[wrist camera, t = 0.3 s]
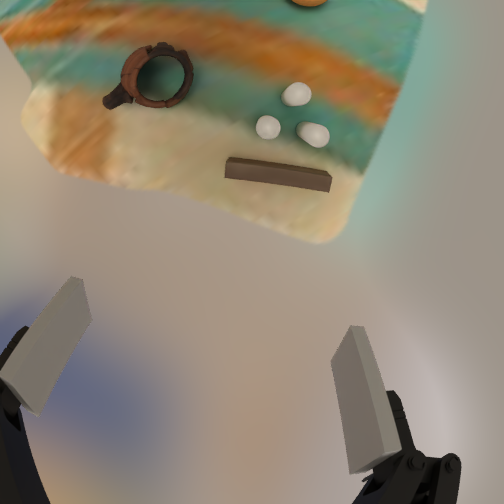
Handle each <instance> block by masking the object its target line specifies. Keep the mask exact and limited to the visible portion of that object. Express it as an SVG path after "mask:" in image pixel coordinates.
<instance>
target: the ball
mask: <svg viewBox="0 0 504 504" xmlns="http://www.w3.org/2000/svg"><path fill="white" fill-rule="evenodd" d="M292 1H293V2H295V3H297V4H299V5H303V6H317V5H320V4H322V3H324V2H326V1H327V0H292Z"/></svg>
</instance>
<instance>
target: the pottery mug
mask: <svg viewBox="0 0 504 504" xmlns="http://www.w3.org/2000/svg"><path fill="white" fill-rule="evenodd" d="M151 48H152V46H151V45H149V46H146V47H141V48H139V49H138V50H136V51H134V52H133V53H132V54H131V55H130V56H129V57H128V59H127V60H126V62H125V64H124V66H123V69H122V72H121V82H120V83H119V85H118V86H117V87H116V88H115V89H114V90H113V91H112V92H111V93H110V94H108V95H107V96H105V97H103V105H104V106H105V107H106V108H107V109H110V110H111V109H114V108H116V107H118V106H120V105H121V104H123V103H132V102H133V98H136V100H135V102H136V103H138V104H140V105H143V106H146V107H152V108H162V107H167V108H169V107H171V106H173V105H175V104H177V103H178V102H179V101H180V100H181V99H183V98H184V97H185V96H186V94H187V92H188V91H189V89H190V87H191V84H192V81H193V75H194V74H193V73H192V71H193V66H192V63H191V61H190V59H189V56H188V54H187V52H186V51H185V50H181V51H178V52H176V51H175V50H174V48H173V47H172V46H171V45H168V44H167V43H166V42H159V43H158V44H157V46H155V47H154V49H153V50H152V51H151V52H150V53H149V54H148V53H147V51H150V50H151ZM157 56H171V57H174V58H176V59H177V60H178V61H179V62H180V63H181V64H182V66H183V68H184V73H185V76H184V81H183V84H182V86H181V88H180V89H179V91H178V92H177V93H176V94H175V95H174V96H173V97H172V98H170V99H168V100H166V101H164V100H161V101H153V100H149V99H147V98H145V97H144V96H143V95H142V94H141V93H140V92H139V90H138V86H137V76H138V73H139V71H140V69H141V68H142V66H143V65H144V64H145V63H146V62H148V61H149V60H150V59H152V58H154V57H157Z"/></svg>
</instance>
